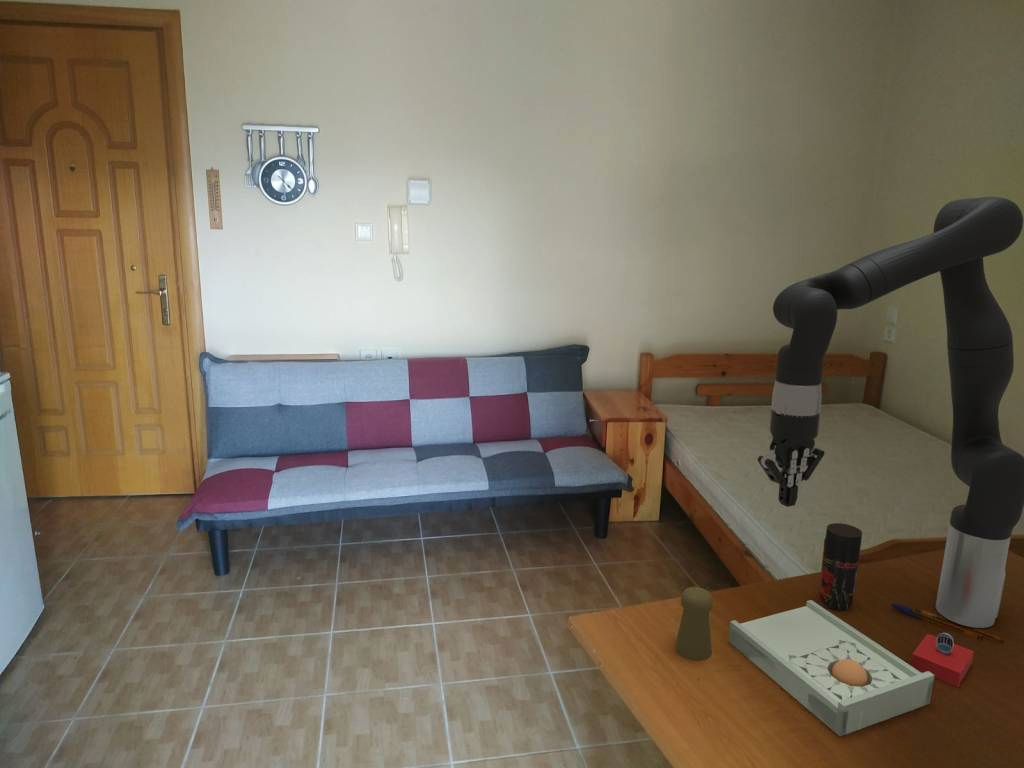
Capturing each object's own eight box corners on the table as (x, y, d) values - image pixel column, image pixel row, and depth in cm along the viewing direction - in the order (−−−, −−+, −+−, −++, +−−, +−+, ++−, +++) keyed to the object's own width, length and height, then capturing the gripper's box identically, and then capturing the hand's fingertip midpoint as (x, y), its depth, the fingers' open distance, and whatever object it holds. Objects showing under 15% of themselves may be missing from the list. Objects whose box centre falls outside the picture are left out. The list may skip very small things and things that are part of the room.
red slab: (925, 648, 119) (930, 615, 117) (971, 666, 114) (977, 632, 112) (909, 668, 113) (915, 634, 112) (957, 688, 108) (963, 653, 107)
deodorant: (856, 612, 128) (866, 538, 125) (821, 609, 130) (831, 535, 126) (847, 596, 134) (857, 524, 130) (815, 592, 135) (823, 521, 132)
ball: (876, 694, 106) (851, 677, 110) (873, 664, 105) (848, 649, 110) (849, 705, 104) (825, 687, 109) (847, 674, 104) (823, 658, 108)
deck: (808, 619, 126) (811, 594, 125) (930, 704, 105) (935, 675, 103) (728, 641, 120) (730, 616, 118) (840, 737, 98) (844, 707, 97)
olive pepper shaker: (714, 644, 119) (719, 586, 116) (708, 664, 114) (713, 604, 111) (679, 635, 121) (682, 579, 119) (671, 654, 116) (675, 596, 114)
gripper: (808, 397, 121) (800, 490, 125) (748, 406, 116) (741, 503, 120) (843, 408, 114) (833, 506, 118) (781, 418, 109) (772, 520, 113)
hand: (787, 504), depth 119 cm, fingers closed
